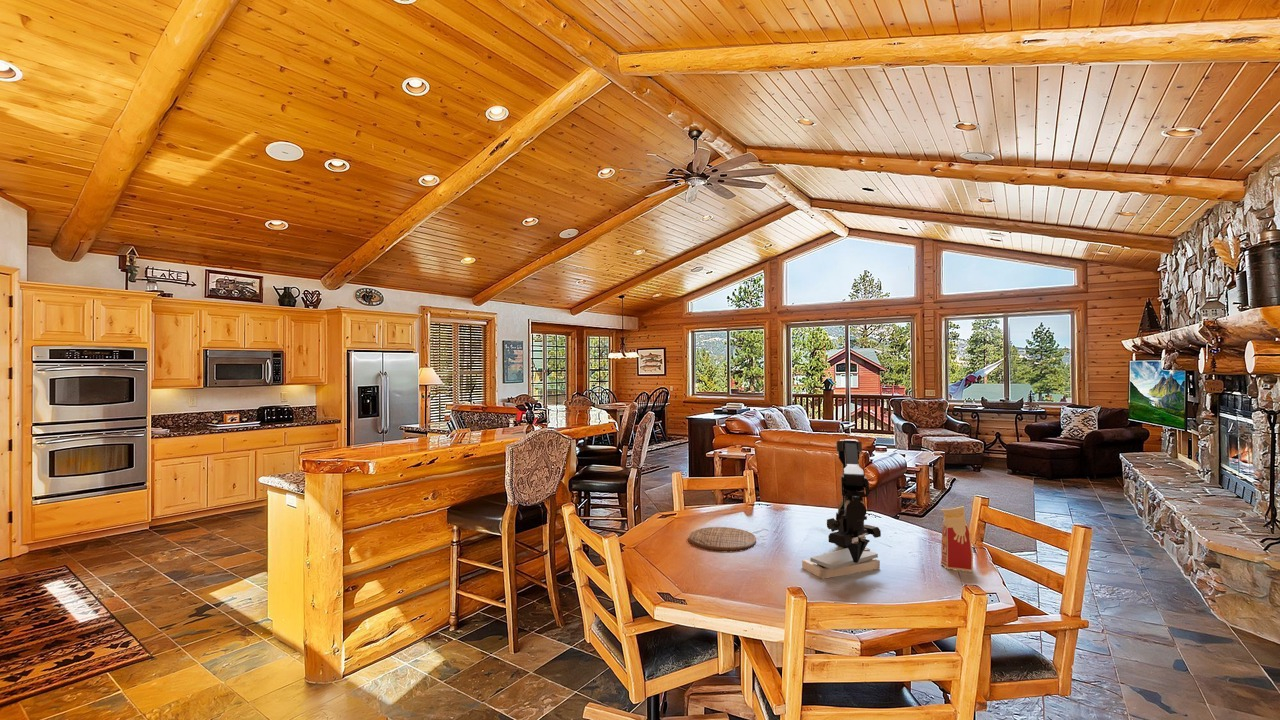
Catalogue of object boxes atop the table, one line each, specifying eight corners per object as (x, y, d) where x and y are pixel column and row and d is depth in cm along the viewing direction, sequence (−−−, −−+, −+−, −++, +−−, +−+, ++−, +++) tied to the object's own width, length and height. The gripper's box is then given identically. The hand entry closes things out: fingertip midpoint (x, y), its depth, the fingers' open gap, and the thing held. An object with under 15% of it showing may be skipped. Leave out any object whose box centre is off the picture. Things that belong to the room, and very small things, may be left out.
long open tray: (857, 558, 196) (857, 549, 196) (879, 568, 187) (879, 558, 187) (802, 567, 188) (802, 558, 188) (822, 578, 178) (822, 568, 178)
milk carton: (968, 563, 192) (968, 503, 192) (974, 572, 183) (974, 510, 183) (937, 560, 195) (937, 501, 195) (942, 569, 186) (942, 507, 186)
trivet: (755, 554, 202) (755, 549, 202) (684, 549, 207) (684, 544, 207) (756, 533, 226) (756, 529, 226) (693, 530, 231) (693, 525, 231)
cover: (857, 549, 196) (857, 544, 196) (880, 556, 188) (880, 552, 188) (810, 561, 184) (810, 556, 184) (833, 569, 176) (833, 565, 176)
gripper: (851, 504, 193) (853, 551, 193) (813, 512, 183) (815, 561, 182) (880, 510, 184) (882, 559, 183) (843, 518, 174) (844, 570, 173)
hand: (855, 562), depth 181 cm, fingers closed, pressing on cover
